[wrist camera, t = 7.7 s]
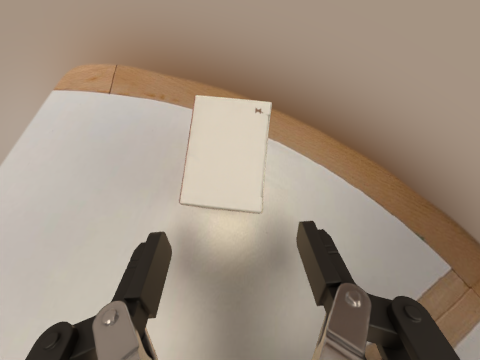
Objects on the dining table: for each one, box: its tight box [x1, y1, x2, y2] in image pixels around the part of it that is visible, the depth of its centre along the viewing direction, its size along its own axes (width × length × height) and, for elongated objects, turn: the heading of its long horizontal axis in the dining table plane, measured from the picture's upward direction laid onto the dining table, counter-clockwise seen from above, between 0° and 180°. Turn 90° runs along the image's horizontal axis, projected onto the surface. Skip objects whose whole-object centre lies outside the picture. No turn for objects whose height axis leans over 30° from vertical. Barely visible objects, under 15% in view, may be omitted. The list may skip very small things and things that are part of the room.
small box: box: [179, 95, 272, 214], centre depth 18 cm, size 8×6×10 cm
